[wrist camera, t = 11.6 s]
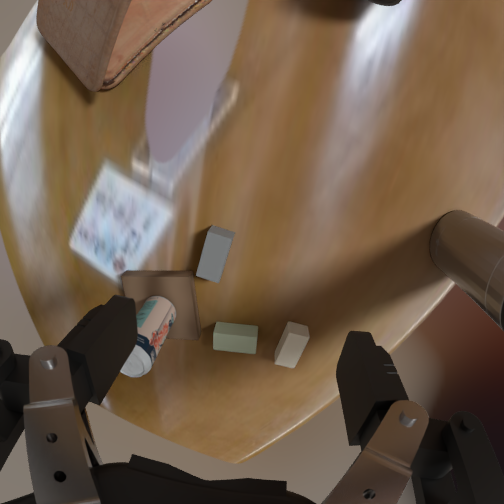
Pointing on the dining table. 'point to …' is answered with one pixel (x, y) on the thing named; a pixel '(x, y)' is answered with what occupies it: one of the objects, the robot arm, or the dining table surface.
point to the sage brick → (235, 337)
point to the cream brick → (291, 344)
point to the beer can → (149, 335)
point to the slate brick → (215, 253)
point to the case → (109, 33)
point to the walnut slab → (167, 297)
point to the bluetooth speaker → (385, 2)
